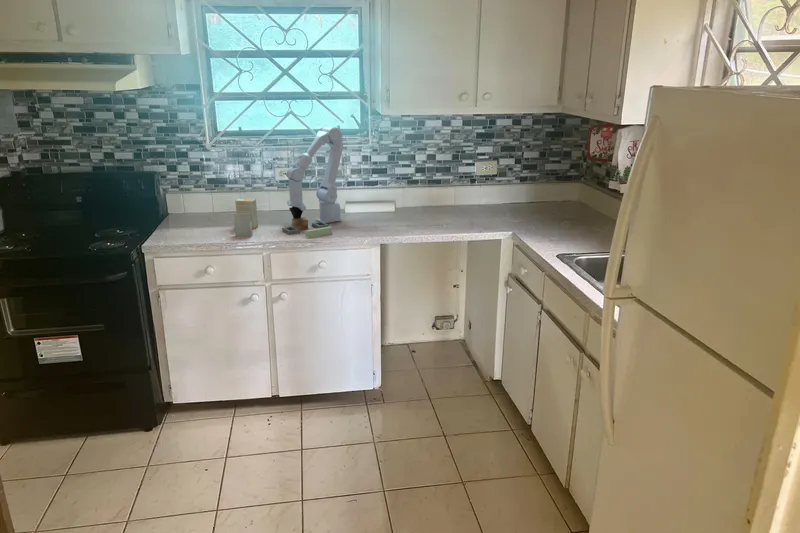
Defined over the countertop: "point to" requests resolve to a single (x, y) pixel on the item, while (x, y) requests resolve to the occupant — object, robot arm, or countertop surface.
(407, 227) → the countertop surface
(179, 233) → the countertop surface
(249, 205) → the supplement box
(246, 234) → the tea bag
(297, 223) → the tan block
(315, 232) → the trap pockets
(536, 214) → the countertop surface
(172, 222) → the countertop surface
